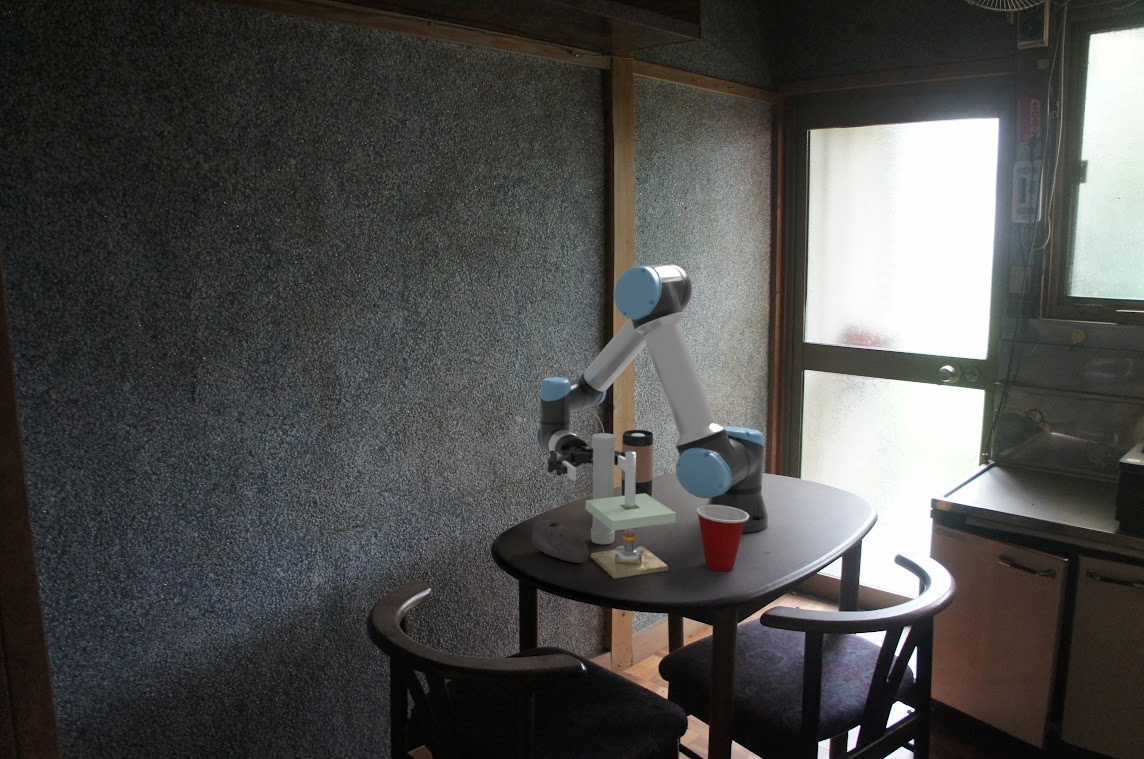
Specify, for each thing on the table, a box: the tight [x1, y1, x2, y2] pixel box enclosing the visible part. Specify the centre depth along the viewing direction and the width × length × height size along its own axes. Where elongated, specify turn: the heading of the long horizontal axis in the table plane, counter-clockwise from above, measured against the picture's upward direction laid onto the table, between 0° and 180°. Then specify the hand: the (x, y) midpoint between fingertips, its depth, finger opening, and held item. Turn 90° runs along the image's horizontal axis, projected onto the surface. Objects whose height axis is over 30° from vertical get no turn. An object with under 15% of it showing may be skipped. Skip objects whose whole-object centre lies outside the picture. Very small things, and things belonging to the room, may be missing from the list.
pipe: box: [588, 409, 617, 545], centre depth 189 cm, size 6×6×30 cm
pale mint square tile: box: [585, 493, 677, 531], centre depth 177 cm, size 14×14×2 cm
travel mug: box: [621, 429, 654, 498], centre depth 210 cm, size 8×8×20 cm
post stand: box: [590, 451, 669, 579], centre depth 177 cm, size 12×12×24 cm
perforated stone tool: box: [531, 519, 590, 564], centre depth 181 cm, size 15×5×7 cm, turn 44°
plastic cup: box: [695, 504, 749, 572], centre depth 177 cm, size 11×11×12 cm
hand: (603, 471), depth 188 cm, fingers open, 13 cm apart
